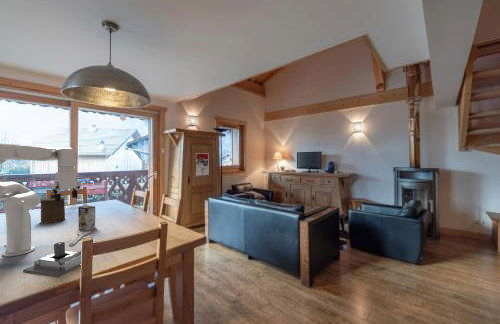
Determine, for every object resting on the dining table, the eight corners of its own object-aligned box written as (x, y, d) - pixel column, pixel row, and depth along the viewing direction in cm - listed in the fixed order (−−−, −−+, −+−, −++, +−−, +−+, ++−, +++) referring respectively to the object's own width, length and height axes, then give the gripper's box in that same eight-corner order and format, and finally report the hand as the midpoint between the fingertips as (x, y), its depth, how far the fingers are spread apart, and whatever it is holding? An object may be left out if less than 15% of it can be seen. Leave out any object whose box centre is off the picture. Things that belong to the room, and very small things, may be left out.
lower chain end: (32, 267, 106) (32, 260, 106) (57, 257, 116) (57, 251, 116) (58, 271, 103) (58, 264, 103) (81, 260, 113) (81, 253, 113)
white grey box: (37, 268, 105) (37, 257, 105) (62, 257, 116) (61, 247, 116) (64, 271, 102) (64, 260, 102) (86, 260, 113) (86, 250, 113)
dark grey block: (52, 265, 108) (51, 245, 107) (60, 261, 112) (59, 241, 111) (59, 266, 107) (58, 245, 106) (67, 262, 111) (66, 242, 110)
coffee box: (78, 229, 164) (77, 206, 164) (86, 226, 171) (86, 205, 170) (87, 230, 162) (87, 207, 161) (95, 227, 168) (95, 206, 167)
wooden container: (52, 218, 192) (51, 192, 192) (69, 218, 192) (69, 192, 192) (35, 223, 177) (35, 195, 177) (54, 223, 177) (54, 195, 177)
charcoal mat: (23, 271, 104) (23, 269, 104) (59, 256, 119) (59, 254, 119) (58, 276, 100) (58, 274, 100) (90, 260, 115) (90, 258, 115)
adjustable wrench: (73, 247, 134) (73, 244, 133) (60, 248, 132) (60, 245, 132) (92, 232, 158) (92, 230, 158) (81, 233, 156) (81, 230, 156)
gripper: (75, 168, 139) (75, 196, 139) (44, 170, 122) (44, 201, 122) (85, 168, 137) (85, 196, 138) (55, 170, 120) (56, 202, 121)
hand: (66, 199), depth 130 cm, fingers open, 9 cm apart
